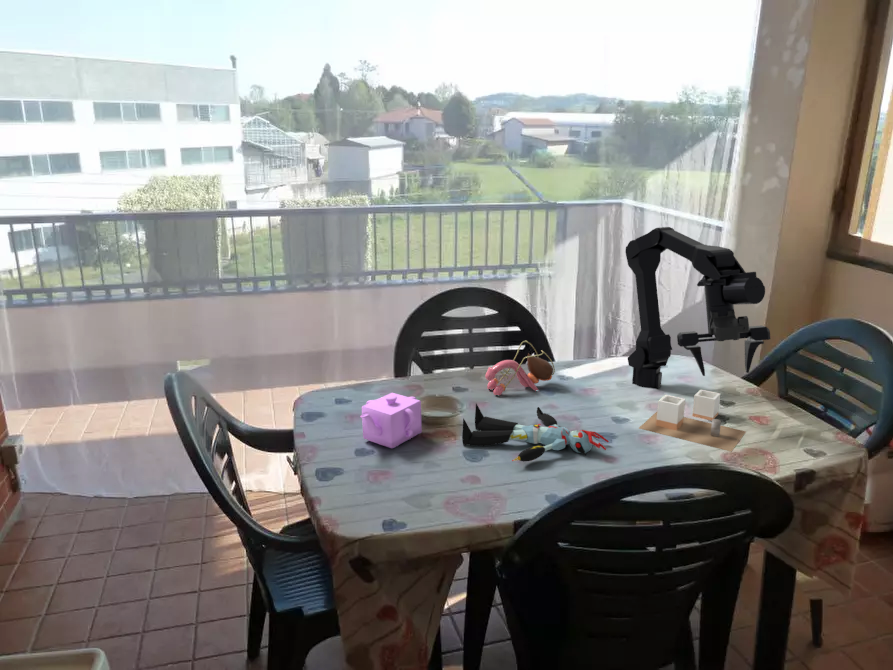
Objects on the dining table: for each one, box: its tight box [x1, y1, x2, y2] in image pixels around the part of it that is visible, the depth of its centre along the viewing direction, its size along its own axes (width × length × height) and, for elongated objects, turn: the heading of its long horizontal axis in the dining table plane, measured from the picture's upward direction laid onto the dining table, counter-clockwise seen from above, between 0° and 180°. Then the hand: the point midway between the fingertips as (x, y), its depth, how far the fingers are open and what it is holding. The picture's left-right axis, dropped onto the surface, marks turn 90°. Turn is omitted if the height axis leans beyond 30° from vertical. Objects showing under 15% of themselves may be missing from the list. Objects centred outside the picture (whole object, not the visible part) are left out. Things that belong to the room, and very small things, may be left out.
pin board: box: [638, 411, 747, 453], centre depth 148 cm, size 20×12×5 cm, turn 53°
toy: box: [461, 403, 609, 463], centre depth 145 cm, size 26×8×30 cm
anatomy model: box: [484, 340, 555, 396], centre depth 176 cm, size 11×15×17 cm
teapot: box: [359, 392, 423, 449], centre depth 147 cm, size 18×14×10 cm
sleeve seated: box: [656, 394, 686, 430], centre depth 151 cm, size 5×5×6 cm
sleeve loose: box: [691, 389, 722, 422], centre depth 156 cm, size 5×5×6 cm
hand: (725, 374), depth 150 cm, fingers open, 9 cm apart
